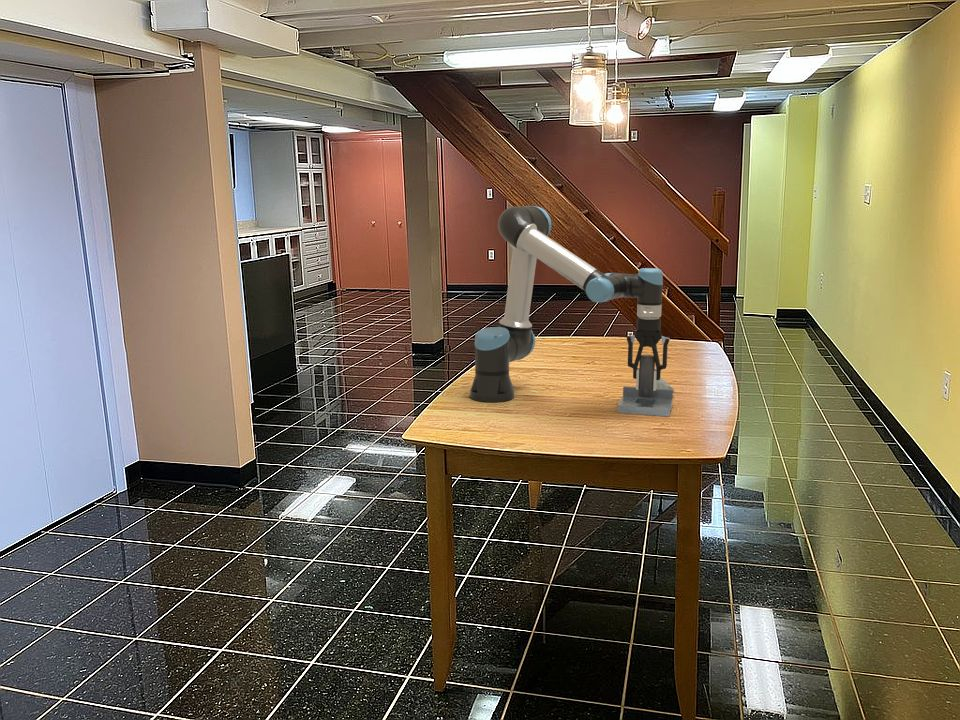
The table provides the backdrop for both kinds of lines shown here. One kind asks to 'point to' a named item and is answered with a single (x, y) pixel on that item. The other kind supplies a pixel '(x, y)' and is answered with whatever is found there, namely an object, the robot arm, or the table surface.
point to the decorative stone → (663, 384)
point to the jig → (646, 402)
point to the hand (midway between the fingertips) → (646, 389)
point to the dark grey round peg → (646, 376)
